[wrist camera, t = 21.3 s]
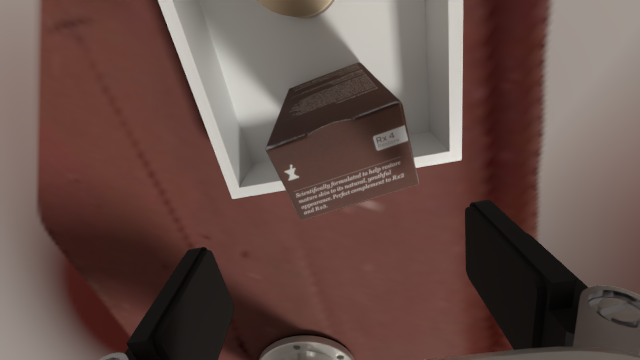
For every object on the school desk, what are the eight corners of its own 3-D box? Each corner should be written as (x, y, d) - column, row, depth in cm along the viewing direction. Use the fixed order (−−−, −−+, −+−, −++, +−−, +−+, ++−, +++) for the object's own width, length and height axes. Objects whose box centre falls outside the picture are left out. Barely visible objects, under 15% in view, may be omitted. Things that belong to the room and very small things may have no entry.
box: (308, 140, 25) (297, 226, 15) (287, 88, 23) (257, 141, 13) (379, 116, 24) (423, 188, 14) (363, 59, 22) (400, 90, 12)
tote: (437, 136, 26) (461, 160, 21) (247, 170, 27) (232, 198, 23) (429, -147, 18) (465, -204, 13) (165, -76, 20) (118, -106, 15)
